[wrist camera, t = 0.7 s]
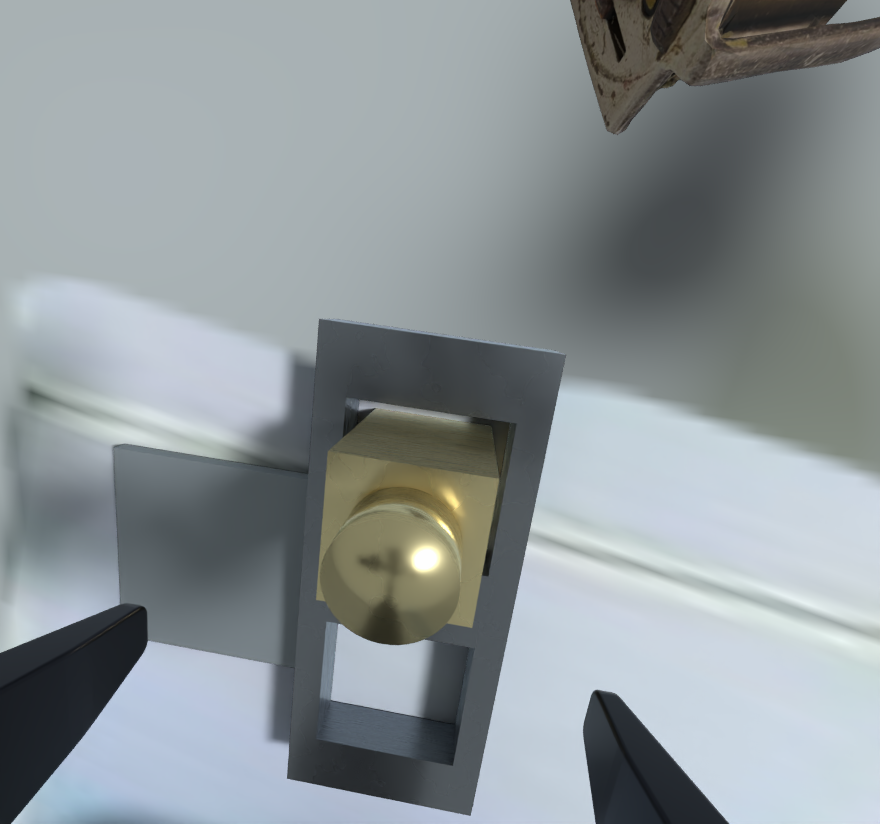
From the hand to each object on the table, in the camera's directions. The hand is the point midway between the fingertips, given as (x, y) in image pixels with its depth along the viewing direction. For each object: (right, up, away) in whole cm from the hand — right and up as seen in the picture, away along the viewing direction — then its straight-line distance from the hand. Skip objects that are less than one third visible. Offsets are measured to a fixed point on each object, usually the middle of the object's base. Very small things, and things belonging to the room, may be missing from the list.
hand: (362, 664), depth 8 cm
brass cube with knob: (+1, +2, +10) cm, 10 cm away
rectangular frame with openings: (0, -3, +11) cm, 11 cm away
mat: (-9, -2, +12) cm, 15 cm away
